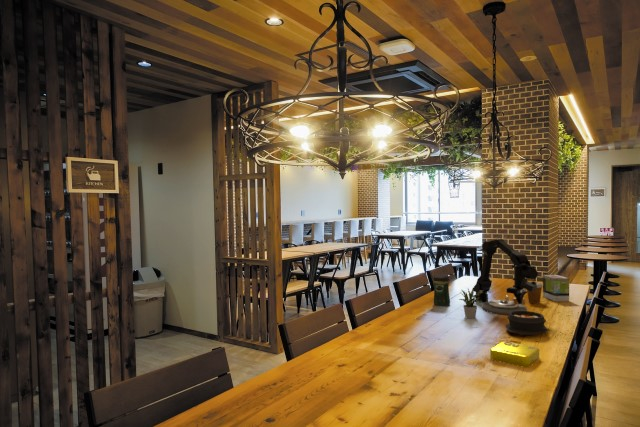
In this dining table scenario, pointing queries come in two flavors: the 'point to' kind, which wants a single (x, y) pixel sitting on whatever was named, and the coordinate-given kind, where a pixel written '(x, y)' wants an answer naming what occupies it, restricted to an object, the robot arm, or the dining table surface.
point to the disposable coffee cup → (535, 294)
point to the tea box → (556, 287)
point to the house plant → (470, 304)
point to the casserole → (526, 323)
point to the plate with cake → (506, 303)
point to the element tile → (515, 354)
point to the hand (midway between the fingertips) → (520, 304)
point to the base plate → (501, 310)
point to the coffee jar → (441, 290)
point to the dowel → (507, 297)
